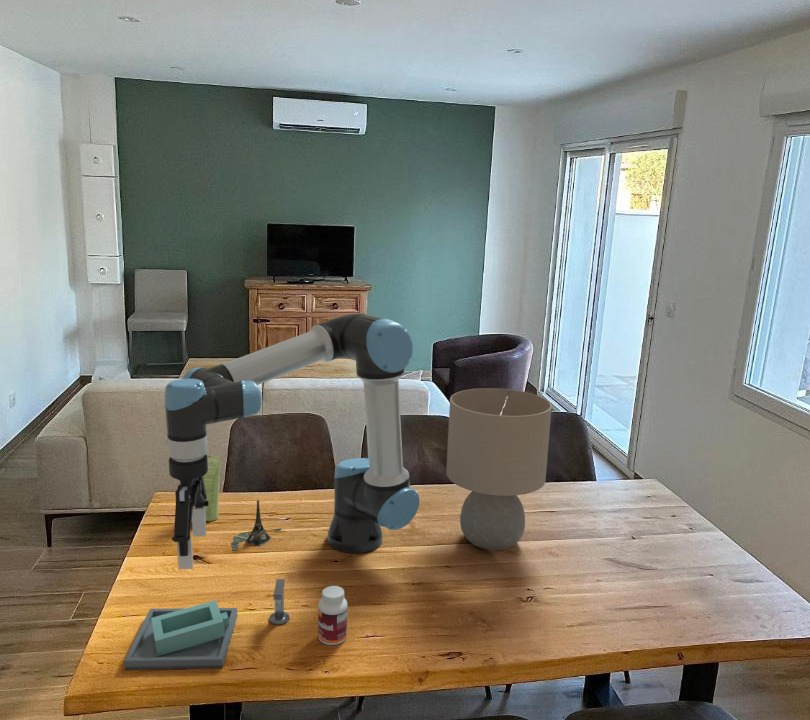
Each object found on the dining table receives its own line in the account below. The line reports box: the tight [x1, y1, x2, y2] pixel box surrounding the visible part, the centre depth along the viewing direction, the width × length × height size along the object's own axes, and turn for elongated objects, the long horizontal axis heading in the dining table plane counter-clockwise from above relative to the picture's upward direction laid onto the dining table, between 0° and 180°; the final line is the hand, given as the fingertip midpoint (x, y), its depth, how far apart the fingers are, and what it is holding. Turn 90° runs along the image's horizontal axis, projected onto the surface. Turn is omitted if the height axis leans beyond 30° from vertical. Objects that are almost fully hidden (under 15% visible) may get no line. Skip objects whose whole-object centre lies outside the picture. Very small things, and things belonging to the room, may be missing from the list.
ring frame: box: [151, 599, 229, 656], centre depth 147 cm, size 15×9×4 cm, turn 114°
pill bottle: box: [317, 585, 348, 646], centre depth 148 cm, size 6×6×11 cm
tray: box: [123, 607, 238, 671], centre depth 146 cm, size 19×18×2 cm
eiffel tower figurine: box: [230, 499, 284, 551], centre depth 190 cm, size 15×10×13 cm
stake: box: [268, 578, 290, 626], centre depth 155 cm, size 4×6×8 cm
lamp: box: [445, 387, 553, 551], centre depth 190 cm, size 27×27×41 cm
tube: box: [203, 454, 222, 522], centre depth 201 cm, size 6×5×20 cm
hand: (193, 551), depth 146 cm, fingers open, 13 cm apart
